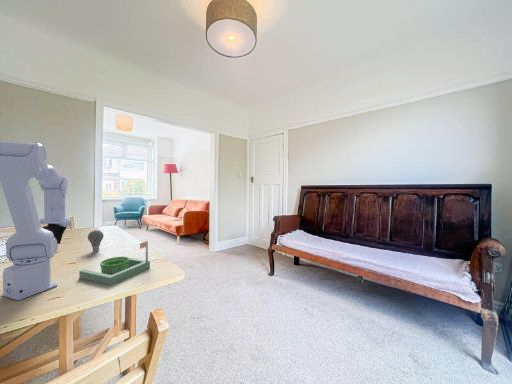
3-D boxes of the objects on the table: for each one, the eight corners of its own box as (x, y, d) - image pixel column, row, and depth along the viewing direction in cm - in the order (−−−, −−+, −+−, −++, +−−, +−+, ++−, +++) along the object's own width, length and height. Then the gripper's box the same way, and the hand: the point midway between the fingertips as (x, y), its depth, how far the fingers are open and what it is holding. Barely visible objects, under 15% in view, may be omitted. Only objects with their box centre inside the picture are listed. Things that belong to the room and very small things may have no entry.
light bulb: (95, 253, 99) (95, 231, 99) (84, 252, 101) (84, 231, 100) (106, 249, 105) (106, 229, 105) (96, 248, 106) (96, 228, 106)
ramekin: (100, 270, 81) (100, 259, 81) (128, 266, 86) (128, 255, 86) (99, 279, 73) (99, 267, 73) (130, 274, 78) (130, 262, 78)
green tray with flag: (110, 285, 70) (109, 252, 69) (79, 278, 74) (78, 247, 74) (149, 267, 85) (149, 240, 84) (122, 262, 89) (121, 236, 89)
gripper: (80, 207, 82) (80, 243, 82) (55, 205, 87) (56, 239, 87) (57, 209, 75) (58, 248, 76) (32, 207, 80) (33, 244, 81)
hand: (55, 244), depth 81 cm, fingers closed
